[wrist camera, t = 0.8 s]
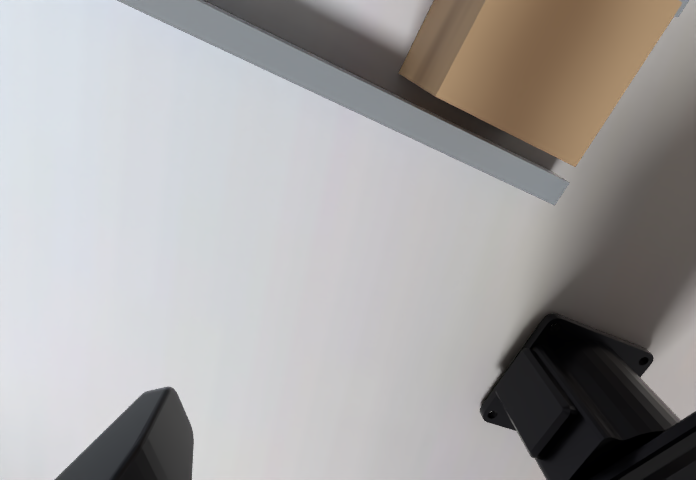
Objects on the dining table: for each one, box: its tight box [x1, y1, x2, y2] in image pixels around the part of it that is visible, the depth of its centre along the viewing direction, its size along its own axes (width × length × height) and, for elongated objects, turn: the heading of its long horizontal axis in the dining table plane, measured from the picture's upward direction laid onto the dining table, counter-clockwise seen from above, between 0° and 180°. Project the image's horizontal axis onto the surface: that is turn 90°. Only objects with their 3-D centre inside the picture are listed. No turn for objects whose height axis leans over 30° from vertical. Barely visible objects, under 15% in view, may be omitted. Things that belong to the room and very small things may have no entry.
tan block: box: [398, 0, 682, 167], centre depth 16 cm, size 5×5×5 cm
